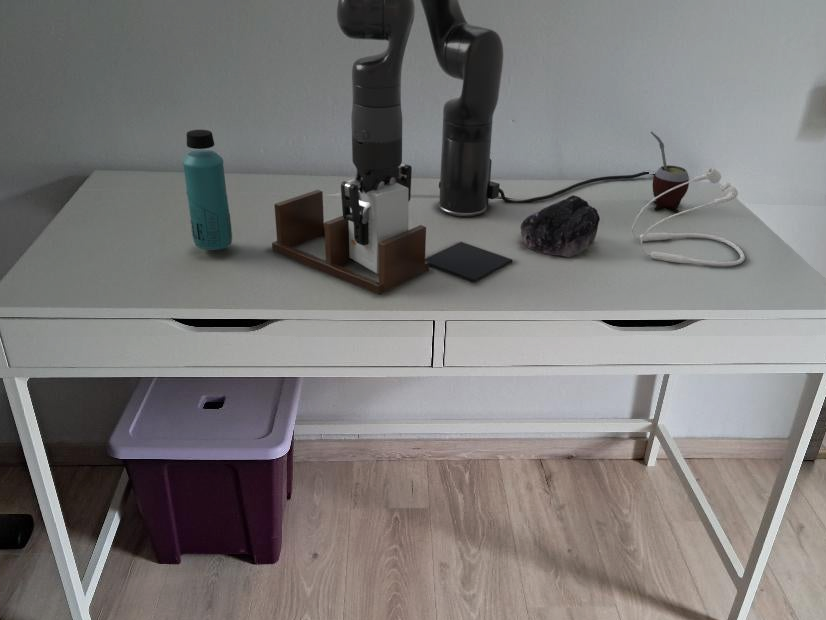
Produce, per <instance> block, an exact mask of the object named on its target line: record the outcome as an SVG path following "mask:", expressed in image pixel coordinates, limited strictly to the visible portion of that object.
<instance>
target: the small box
mask: <svg viewBox="0 0 826 620" xmlns="http://www.w3.org/2000/svg"><path fill="white" fill-rule="evenodd" d="M354 180H355V179H351V180H347V181H346V182H349V183H350V182H352V181H354ZM359 192H360V191H359ZM408 194H409V188H407V187H405V186H403V185H400V184H398V183H396V184H395V185H392V186H390V185H384V187H383V189H381V190H378V191H374V190H372V191H369V192H367V193H365V192H364V190H363V189H362V193H361V192H360V195H359V198H360V200H361V201H363V202H368V203H369V204H370V205H371V207H370V209H369V218H368V221H367V222H368V227H369V243H368V244H367V245H365V246H363V245H361V244H358V243H357V242H356V241H355V239H354V222H352V221H349V220H348V222H349V257H350V258H351V259H353V260H354V262H357V263H358V264H360V265H361V266H363V267H365V268H366V269H368V270H370V271H371V272H373V273H374V274H375V275H379V242H382V241H384V240H386V239H389V238H391V237H393V236H396V235H398V234H401V233H403V232H405V231H408V230H409V202H408ZM363 211H364V207H361V211H360V214H361V215H362V213H363ZM350 212H352V209H351V208H350Z"/></svg>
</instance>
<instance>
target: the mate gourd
mask: <svg viewBox="0 0 826 620" xmlns="http://www.w3.org/2000/svg"><path fill="white" fill-rule="evenodd" d="M650 134H651V135H652V136H653V137H654V138H655V139H656V141H657V142H658V146H659V149H660V152H661V158H662V159H661V160H662V163H663V165H662V166H660V167H659V168H658V169H657V170H656V171H655V176H654V175H653V179H652V194H653V196H654V198H655V197H657V196H659V195H660V194H662V193H664V192H666V191H668V190H670V189H672V188H674V187H676V186H678V185H681V184H683V183H686V182H688V181H690V176H689V174H688V173H689V172H688V171H687V169H685V168H684V167H681V166H678V165H671V164H670V165H667V159H666V153H665V145H664V142H663V141H662V139H661V138H660V137H659V136H658V135H657V134H656V133H654V131H650ZM689 186H690V183H688V184H685V185H683V186H680V187H678V188H676V189H673V190H671V191H669V192H667V193H665V194H664V195H662V196H660V197H658V198H657V199H655V200H654V201H653V205H655V207H653V210H654V211H656V212H658V211H662V210H668V211H670V212H673V213H674V214H677V213H679V209H678V208H679V206H680V204H681V203H682V200H683V198H684V197H685V196H686V194H687V192H688V190H689Z"/></svg>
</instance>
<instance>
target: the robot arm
mask: <svg viewBox="0 0 826 620" xmlns="http://www.w3.org/2000/svg"><path fill="white" fill-rule="evenodd" d="M419 1H420V3H421V6H422V9H423V12H424V16H425V19H426V24H427V27H428V31H429V32H428V33H429V35H430V40H431V43H432V44H431V45H432V47H433V51H434V54H435V57H436V60H437V64H438V65H439V67H440V68H441V70H442V71H443V72H444V74H446V75H447V76H449V77H452V78H453V79H457V80H460V81H462V88H461V93H460V96H459V97H456V98H451V99H449V100H447V101H446V102H445V103H444V105H443V108H442V109H443V110H442V129H441V130H442V131H441V132H442V133H441V156H440V157H441V159H440V177H439V179H440V180H439V183H438V189H439V202H438V209H439V211H441V213H444V214H447V215H449V216H455V217H463V218H464V217H469V218H470V217H476V216H480V215H483V214H484V213H486V212H487V208H488V207H489V200H494V199H497V198H499V196H500V197H501V199H502V201H504V202H505V203H508V204H529V203H534V202H538V201H544V200H548V199H552V198H554V197H556V196H559V195H561V194H564V193H567V192H569V191H571V190H573V189H576V188H579V187H581V186H584V185H588V184H591V183H596V182H602V181H610V180H611V181H612V180H626V179H627V180H628V179H629V180H630V179H635V178H639V177H642V176H647V175H650V174H649V172H645V171H642V172H638V173H633V174H626V175H625V174H624V175H623V174H622V175H608V176H600V177H599V176H598V177H595V178H590V179H587V180H583V181H580V182H577V183H575V184H572V185H570V186H568V187H565V188H563V189H560V190H558V191H555V192H553V193H550V194H547V195H542V196H536V197H531V198H528V199H522V200H513V199H509V198H508V197H506V196H505V193H504V190H502V188H500V186H501V185H500V183H498V182H495V181H492V180H491V177H492V175H491V174H492V163H493V161H492V159H491V148H492V133H493V123H494V121H493V120H494V113H495V111H496V108H497V107H498V106H497V105H498V102H499V96H500V90H501V89H500V88H501V82H502V73H503V68H504V67H503V66H504V46H503V44H504V43H503V41H502V37H501V36H500V35H499V33H498V32H497V31H495V30H493V29H492V28H491V29H490V28H489V27H483V26H478V25H474V24H470V23H468V21H467V19H466V18H465V15H464V13H463V11H462V7H461V4H460V1H459V0H419ZM415 7H416V5H415V1H414V0H337V6H336V20H337V24H338V27H339V29H340V30H341V32H342V34H343V35H344V36H345V37H347V38H349V39H353V40H362V41H363V40H364V41H365V40H366V41H387V42H388V43H387V47H386V49H385V50H384V51H382V52H380V53H378V54H373V55H368V56H363V57H360V58H357V59H356V60H354V62H353V64H352V67H351V80H352V81H351V82H352V83H351V85H352V106H351V107H352V109H351V116H350V117H351V155H352V157H351V158H352V159H351V160H352V164H353V165H354V167H355V168H356V176H355V178H354V179H353V180H354V181H352V182H350V183H349V182H347V181H345V180H344V181H342V182H341V185H340V193H341V208H342V216H343V218H344V219H346V220H349V221H352V222H354V239H355V241H356V242H357V243H358V244H361V245H363V246H365V245H367V244H368V243H369V227H368V222H367V221H368V218H369V209H370V207H371V205H370V204H369V203H368V202H363V201H361V200H360V198H359V195H360V192H361V193H362V189H363V190H364V192H365V193H367V192H369V191H372V190H374V191H378V190H381V189H383V187H384V185H390V186H392V185H395V184H396V183H398V184H400V185H403V186H405V187H407V188H409V194H408V203H409V202H410V201H411V192H412V171H413V170H412V169H413V168H412V166H411V165H410V164H406V163H403V112H402V103H401V102H402V69H403V62H404V56H405V52H406V47H407V44H408V40H409V37H410V34H411V30H412V28H413V23H414V20H415V13H416V8H415ZM651 175H652V176H653V177H654V176H655V174H651ZM359 191H360V192H359ZM361 207H364V211H363V213H362V215H361V214H360V211H361ZM350 208H351V209H352V212H350Z"/></svg>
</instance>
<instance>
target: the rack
mask: <svg viewBox="0 0 826 620" xmlns="http://www.w3.org/2000/svg"><path fill="white" fill-rule="evenodd" d="M323 193H324V192H323V190H321V189H320V190H319V189H315V190H312V191H310V192H306V193H303V194H300V195H298V196H295V197H291V198H288V199H285V200H282V201H279V202H276V203H274V217H275V231H276V240H275V241H273V242H271V251H272V252H275V253H277V254H279V255H281V256H284V257H287V258H289V259H292V260H294V261H296V262H299V263H301V264H304V265H306V266H309V267H310V268H314V269H316V270H318V271H321V272H322V273H325V274H327V275H330V276H332V277H335V278H337V279H340V280H342V281H345V282H347V283H350V284H351V285H355V286H357V287H359V288H362V289H364V290H366V291H369V292H371V293H373V294H376V295H378V296H380V295H382V294H384V293H386V292H388V291H390V290H392V289H395V288H396V287H398V286H400V285H402V284H404V283H406V282H408V281H410V280H412V279H415V278H417V277H418V276H421V275H422V274H425V273H426V272H428V271H430V266H429V262H427V261H425V259H426V245H427V226H425V225H422V224H420V225H417V226H415V227H413V228H411V229H408V231H405V232H403V233H401V234H398V235H396V236H393V237H391V238H389V239H386V240H384V241H382V242H379V274H378V280H376V279H373V278H371V277H368V276H365V275H363V274H361V273H358V272H355V271H353V270H350V269H348V268H346V267H343V266H345V265H347V264H349V263H352V262H355V260H353V259H351V258H350V257H349V222H348V220H346V219H344V218H343V215H341V216H338V217H335V218H332V219H330V220H327V221H324V220H325V218H324V195H323ZM321 236H324V249H325V250H324V251H325V259H323V258H321V257H318V256H315V255H314V254H311V253H309V252H306V251H303V250H301V249H298V248H296V247H295V246H298V245H301V244H303V243H306V242H308V241H311V240H314V239H316V238H319V237H321Z"/></svg>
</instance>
